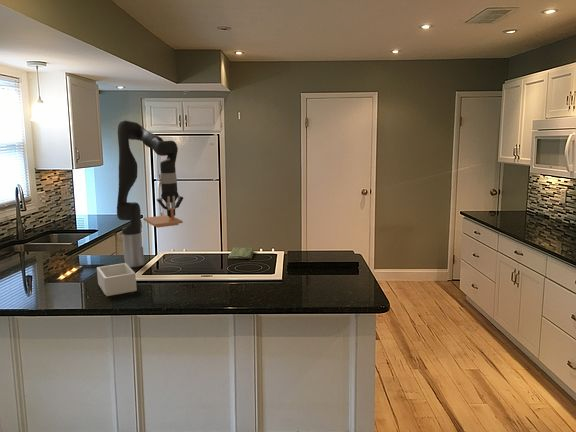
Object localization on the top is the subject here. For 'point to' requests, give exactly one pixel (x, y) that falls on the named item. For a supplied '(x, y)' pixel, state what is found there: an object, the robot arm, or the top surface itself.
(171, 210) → the snap lid
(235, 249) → the washcloth
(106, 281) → the parts tub
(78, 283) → the top surface
